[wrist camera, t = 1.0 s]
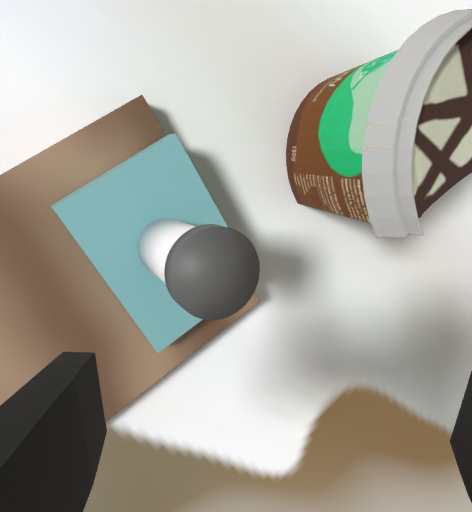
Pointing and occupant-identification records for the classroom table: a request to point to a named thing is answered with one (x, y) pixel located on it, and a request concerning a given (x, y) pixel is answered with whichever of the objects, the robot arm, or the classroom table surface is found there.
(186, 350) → the bench base
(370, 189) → the food container
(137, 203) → the teal plate with post
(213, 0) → the classroom table surface
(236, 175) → the classroom table surface
